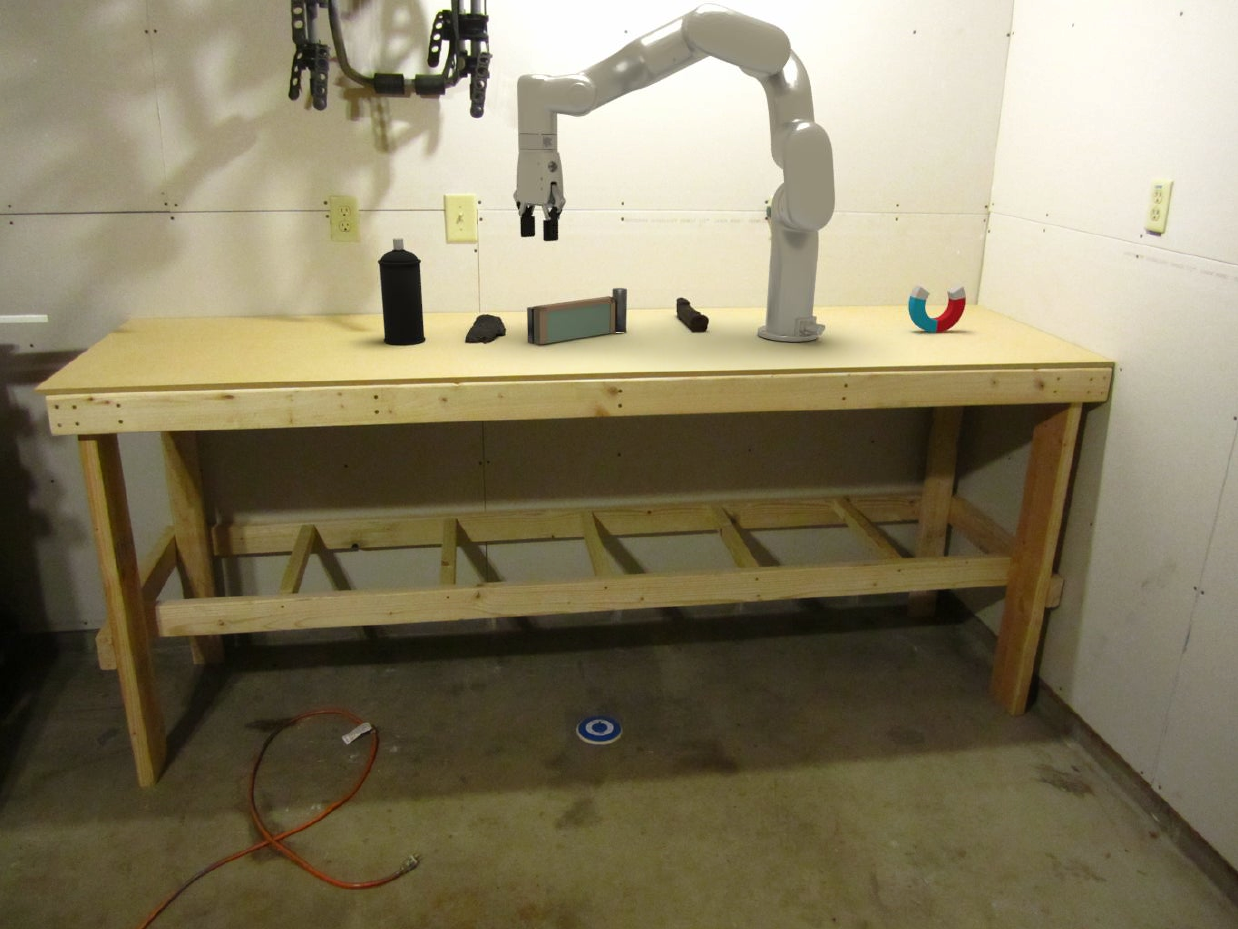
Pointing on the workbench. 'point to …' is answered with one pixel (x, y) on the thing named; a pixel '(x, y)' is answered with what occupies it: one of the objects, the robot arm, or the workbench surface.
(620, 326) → the gate posts
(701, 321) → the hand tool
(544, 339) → the gate
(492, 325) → the wood
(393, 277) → the aerosol can
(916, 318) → the magnet
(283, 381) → the workbench surface
